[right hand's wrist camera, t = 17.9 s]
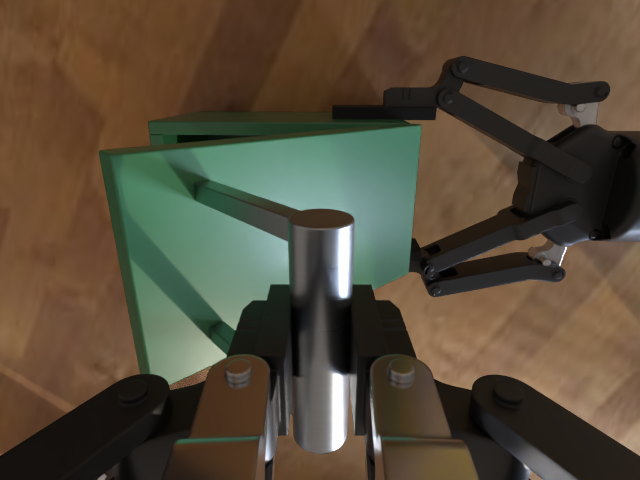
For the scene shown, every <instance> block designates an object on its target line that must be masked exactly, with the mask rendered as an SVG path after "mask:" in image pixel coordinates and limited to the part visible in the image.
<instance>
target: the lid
mask: <svg viewBox="0 0 640 480" xmlns="http://www.w3.org/2000/svg"><path fill="white" fill-rule="evenodd" d="M420 137H421V125H419V124H406V123H402V124H390V125H379V126H368V127H357V128H345V129H334V130H323V131H311V132H300V133H289V134H278V135H266V136H255V137H244V138H233V139H221V140H210V141H199V142H187V143H176V144H165V145H154V146H142V147H131V148H120V149H108V150H101V151H99V156H100V162H101V167H102V172H103V178H104V183H105V188H106V194H107V199H108V204H109V210H110V215H111V221H112V226H113V231H114V237H115V242H116V247H117V253H118V258H119V263H120V269H121V274H122V279H123V285H124V290H125V295H126V301H127V306H128V311H129V317H130V322H131V327H132V333H133V338H134V343H135V349H136V354H137V359H138V365H139V370H140V374H155V375H159V376H161V377H163V378H164V379H166V381H167V382H168V384H169V385H171V384H174V383H176V382H178V381H180V380H182V379H184V378H186V377H188V376H191V375H193V374H195V373H197V372H199V371H201V370H203V369H206V368H208V367H210V366H212V365H214V364H216V363H217V362H218V361H220V360H222V359H224V358H226V356H227V353H228V350H229V348H230V345H231V342H232V339H233V336H234V333H235V330H236V327H237V324H238V322H239V319H240V316H241V313H242V310H243V309H244V308H245V307H246V306H247V305H248V304H249V303H250V302H252V301H253V300H267V297H268V293H269V289H270V285H271V284H289V296H290V304H291V306H292V340H293V386H292V397H291V408H290V413H291V414H292V415H293V435H294V438H295V441H296V442H297V444H298V445H299V446H300V447H301V448H303V449H304V450H306V451H308V452H311V453H315V454H325V453H330V452H333V451H335V450H336V449H338V448H339V447H340V446H341V445H342V444H343V443H344V441H345V440H346V437H347V427H348V399H349V374H348V373H349V341H350V308H351V303H352V285H353V284H371V285H372V289H373V290H374V289H377V288H379V287H381V286H383V285H385V284H387V283H389V282H392V281H394V280H396V279H398V278H400V277H402V276H404V275H406V274H408V273H409V262H410V250H411V239H412V228H413V216H414V205H415V194H416V183H417V171H418V160H419V149H420Z"/></svg>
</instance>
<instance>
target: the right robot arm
mask: <svg viewBox="0 0 640 480" xmlns="http://www.w3.org/2000/svg"><path fill="white" fill-rule="evenodd" d="M348 374H349V384H350V394H351V405H352V415H353V425H354V435H365V442H366V457H365V469H366V480H530V479H529V475H530V471H531V470H532V471H533V472H534V473H535V474H537V475H538V476H539V477H540V478H542V479H543V480H640V456H639V455H637V454H636V453H634V452H633V451H631V450H629V449H628V448H626V447H625V446H623V445H622V444H620V443H618V442H617V441H615V440H614V439H612V438H611V437H609V436H607V435H606V434H604V433H603V432H601V431H599V430H598V429H596V428H595V427H593V426H592V425H590V424H588V423H587V422H585V421H584V420H582V419H581V418H579V417H577V416H576V415H574V414H573V413H571V412H570V411H568V410H566V409H565V408H563V407H562V406H560V405H559V404H557V403H555V402H554V401H552V400H551V399H549V398H548V397H546V396H544V395H543V394H541V393H540V392H538V391H537V390H535V389H533V388H532V387H530V386H529V385H527V384H525V383H523V382H521V381H519V380H517V379H514V378H511V377H507V376H502V375H487V376H483V377H480V378H479V379H477V380H476V381H475V382H474V384H473V386H472V390H468V389H464V388H459V387H455V386H451V385H447V384H444V383H442V382H439V381H437V380H435V379H434V378H433V375H432V372H431V370H430V369H429V367H428V366H427V365H426V364H424V363H423V362H422V361H420V360H418V359H417V357H416V354H415V352H414V349H413V346H412V343H411V340H410V338H409V335H408V332H407V330H406V326H405V324H404V322H403V318H402V315H401V312H400V310H399V309H398V308H397V307H396V306H395V305H394V304H393V303H392V302H390V301H389V300H375V296H374V292H373V289H372V285H371V284H353V285H352V303H351V308H350V341H349V373H348ZM292 386H293V340H292V306H291V304H290V296H289V284H271V285H270V289H269V293H268V297H267V300H253V301H252V302H250V303H249V304H248V305H247V306H246V307H245V308H244V309H243V310H242V313H241V316H240V319H239V322H238V324H237V327H236V330H235V333H234V336H233V339H232V342H231V345H230V348H229V350H228V353H227V356H226V358H224V359H222V360H220V361H218V362H217V363H216V364H214V365H213V366H212V367H211V369H210V370H209V372H208V374H207V378H206V380H205V381H203V382H201V383H198V384H195V385H192V386H188V387H183V388H179V389H174V390H170V388H169V384H168V382H167V381H166V379H164V378H163V377H161V376H159V375H155V374H139V375H134V376H130V377H127V378H125V379H122V380H120V381H118V382H116V383H115V384H113V385H111V386H110V387H108V388H107V389H105V390H103V391H102V392H100V393H99V394H97V395H96V396H94V397H92V398H91V399H89V400H88V401H86V402H85V403H83V404H81V405H80V406H78V407H77V408H75V409H74V410H72V411H70V412H69V413H67V414H66V415H64V416H63V417H61V418H59V419H58V420H56V421H55V422H53V423H52V424H50V425H48V426H47V427H45V428H44V429H42V430H41V431H39V432H37V433H36V434H34V435H33V436H31V437H30V438H28V439H26V440H25V441H23V442H22V443H20V444H18V445H17V446H15V447H14V448H12V449H11V450H9V451H7V452H6V453H4V454H3V455H1V456H0V480H274V468H275V458H274V454H275V452H276V448H277V440H278V435H288V431H289V419H290V408H291V397H292Z"/></svg>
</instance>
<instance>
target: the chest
mask: <svg viewBox="0 0 640 480" xmlns="http://www.w3.org/2000/svg"><path fill="white" fill-rule="evenodd" d="M402 123H406V124H410V123H408V122H406V121H404V120H402V119H332V112H235V111H200V112H195V113H190V114H184V115H179V116H174V117H168V118H163V119H158V120H153V121H149V122H148V126H149V133H150V134H151V135H150V142H151V146H154V145H165V144H176V143H187V142H199V141H210V140H221V139H233V138H244V137H255V136H266V135H278V134H289V133H300V132H311V131H323V130H334V129H345V128H357V127H368V126H379V125H390V124H402Z"/></svg>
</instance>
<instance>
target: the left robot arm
mask: <svg viewBox="0 0 640 480" xmlns="http://www.w3.org/2000/svg"><path fill="white" fill-rule="evenodd" d="M463 82H465V83H469V84H473V85H477V86H481V87H485V88H488V89H492V90H496V91H500V92H504V93H508V94H511V95H515V96H519V97H523V98H527V99H531V100H534V101H538V102H543V103H554V104H558V105H557V108H558V111H559V113H560V114H561V115H565V116H569V117H570V118H571V119H572V121H573V125H571V126H570V127H568V128H566V129H565V130H563V131H562V132H560V133H558V134H557V135H555V136H554V137H552V138H551V139H549V140H547V141H545V140H543V139H541V138H538V137H536V136H534V135H532V134H530V133H529V132H527V131H525V130H523V129H522V128H520V127H518V126H516V125H515V124H513V123H511V122H510V121H508V120H506V119H504V118H503V117H501V116H499V115H497V114H496V113H494V112H492V111H490V110H489V109H487V108H485V107H483V106H482V105H480V104H478V103H476V102H475V101H473V100H471V99H470V98H468V97H466V96H464V95H463V94H461V93H459V90H460V88H461V86H462V84H463ZM609 92H610V86H609V84H608V83H606V82H603V81H591V82H572V83H564V82H561V81H557V80H553V79H549V78H545V77H542V76H538V75H534V74H530V73H526V72H523V71H519V70H515V69H511V68H508V67H504V66H500V65H496V64H492V63H489V62H485V61H481V60H477V59H473V58H470V57H466V56H461V57H457V58H452V59H449V60H447V61H446V62H445V63H444V65H443V68H442V73H441V75H440V78H439V80H438V81H437V83H436V84H435V85H433V86H432V87H428V88H389V89H386V90H384V92H383V105H333V111H332V119H402V120H435V118H436V108H439V109H441V110H442V111H444V112H446V113H448V114H450V115H451V116H453V117H455V118H457V119H458V120H460V121H462V122H464V123H465V124H467V125H469V126H471V127H473V128H474V129H476V130H478V131H480V132H481V133H483V134H485V135H487V136H489V137H490V138H492V139H494V140H496V141H497V142H499V143H501V144H503V145H504V146H506V147H508V148H509V149H511V150H512V151H514V152H516V153H518V154H519V155H521V156H523V157H525V158H524V159H523V161H519V165H518V171H517V174H518V185H517V187H516V189H515V192H514V194H513V199H512V204H513V205H512V206H509V207H507V208H505V209H503V210H501V211H499V212H498V214H497V215H496V216H493V217H491V218H489V219H487V220H484V221H482V222H480V223H477V224H475V225H473V226H470V227H468V228H466V229H463V230H461V231H459V232H457V233H454V234H452V235H450V236H447V237H445V238H443V239H440V240H438V241H436V242H433V243H431V244H429V245H427V246H424V247H422V248H420V247H419V245H418V243H417V241H416V239H415V238H412V239H411V250H410V262H409V272H417V273H419V274H421V278H422V280H423V282H424V285H425V287H426V289H427V291H428V293H429V295H431V296H433V297H439V296H444V295H450V294H455V293H461V292H466V291H472V290H477V289H482V288H488V287H493V286H499V285H504V284H510V283H515V282H521V281H526V280H540V281H548V282H559V281H561V280H563V279H564V277H565V274H566V273H565V270H564V269H563V268H562V267H560V264H561V261H562V259H563V256H564V253H565V250H566V248H567V246H572V245H574V244H576V243H579V242H581V241H586V240H594V241H629V242H640V131H606V130H604V129H603V128H601V127H600V126H598V125H596V121H597V112H598V104H599V102H600V101H603V100H604V99H606V98H607V96H608V95H609ZM540 233H541V234H542V235H543V236H545V237H546V238H547V239H548V240H547V242H546V243H545V244H544V245H543V246H540V247H531V248H529V250H528V252H515V253H509V254H504V255H498V256H493V257H488V258H483V259H477V260H472V261H467V262H463V261H466V260H468V259H471V258H473V257H475V256H478V255H480V254H483V253H485V252H487V251H490V250H492V249H495V248H497V247H499V246H502V245H504V244H506V243H509V242H511V241H514V240H525V239H528V238H530V237H532V236H535V235H537V234H540ZM461 262H462V263H461Z"/></svg>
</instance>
